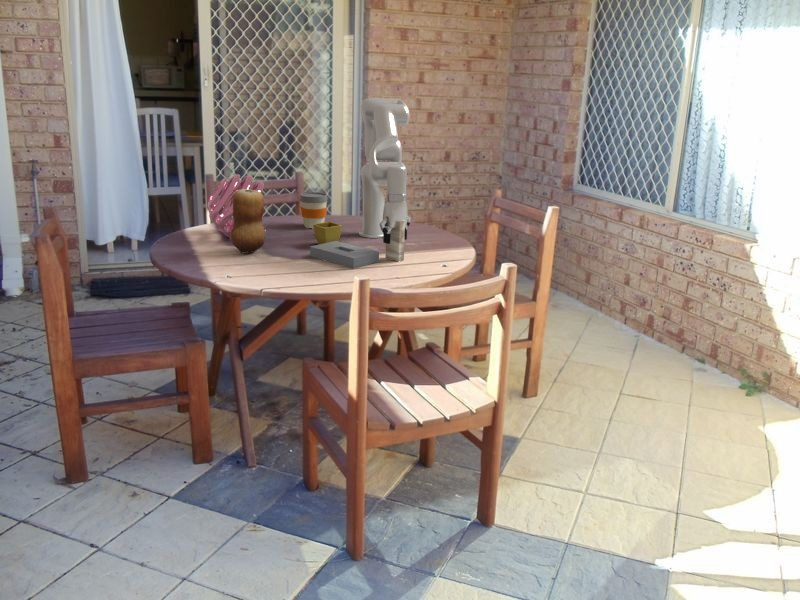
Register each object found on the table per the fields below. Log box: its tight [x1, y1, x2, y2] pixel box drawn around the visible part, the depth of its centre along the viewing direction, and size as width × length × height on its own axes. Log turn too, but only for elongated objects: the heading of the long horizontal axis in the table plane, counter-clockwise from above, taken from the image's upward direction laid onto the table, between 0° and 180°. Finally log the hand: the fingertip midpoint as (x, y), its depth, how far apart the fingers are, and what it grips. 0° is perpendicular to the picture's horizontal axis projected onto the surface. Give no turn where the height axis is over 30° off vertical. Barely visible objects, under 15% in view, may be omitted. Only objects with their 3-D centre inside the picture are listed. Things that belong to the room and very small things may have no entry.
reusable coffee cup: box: [299, 191, 328, 230], centre depth 337 cm, size 13×13×15 cm
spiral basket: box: [207, 173, 267, 238], centre depth 314 cm, size 28×28×27 cm
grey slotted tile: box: [309, 241, 380, 269], centre depth 287 cm, size 14×24×4 cm, turn 49°
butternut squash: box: [229, 188, 266, 253], centre depth 290 cm, size 14×13×25 cm
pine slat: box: [385, 220, 405, 262], centre depth 286 cm, size 3×7×16 cm, turn 49°
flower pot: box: [313, 221, 342, 245], centre depth 305 cm, size 9×9×9 cm
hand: (395, 241), depth 286 cm, fingers open, 9 cm apart
